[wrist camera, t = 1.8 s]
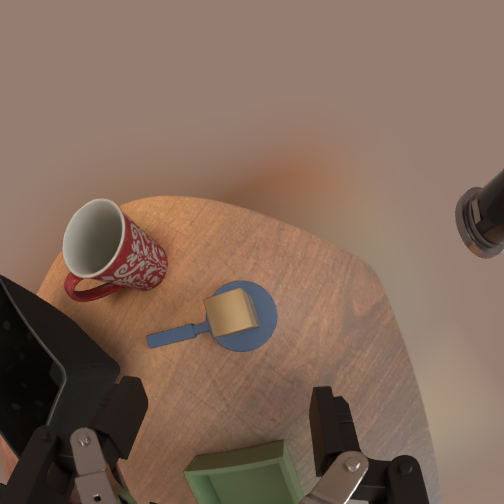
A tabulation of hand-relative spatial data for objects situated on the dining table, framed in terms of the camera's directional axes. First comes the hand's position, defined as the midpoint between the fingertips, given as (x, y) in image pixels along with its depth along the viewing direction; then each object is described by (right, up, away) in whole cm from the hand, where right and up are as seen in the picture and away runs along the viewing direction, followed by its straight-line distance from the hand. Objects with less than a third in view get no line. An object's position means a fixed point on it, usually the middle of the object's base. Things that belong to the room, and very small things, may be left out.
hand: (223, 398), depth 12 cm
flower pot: (-26, -12, +25) cm, 38 cm away
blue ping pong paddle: (-4, -3, +24) cm, 25 cm away
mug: (-15, +3, +28) cm, 32 cm away
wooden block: (0, -1, +23) cm, 23 cm away
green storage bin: (+1, -25, +17) cm, 31 cm away
